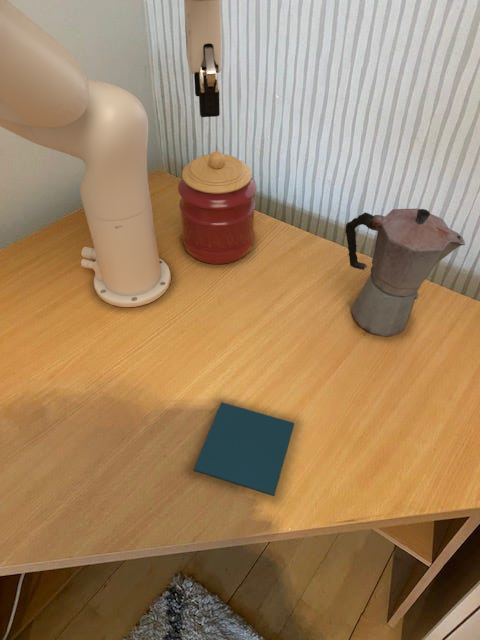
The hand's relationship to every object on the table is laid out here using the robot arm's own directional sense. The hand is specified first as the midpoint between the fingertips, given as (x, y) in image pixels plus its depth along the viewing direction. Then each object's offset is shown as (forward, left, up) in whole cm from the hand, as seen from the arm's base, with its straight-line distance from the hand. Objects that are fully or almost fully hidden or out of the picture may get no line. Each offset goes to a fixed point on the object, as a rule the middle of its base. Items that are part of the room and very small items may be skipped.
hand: (207, 104), depth 81 cm
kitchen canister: (+6, -11, -20) cm, 24 cm away
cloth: (+23, -49, -20) cm, 57 cm away
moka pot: (+36, -21, -20) cm, 46 cm away
